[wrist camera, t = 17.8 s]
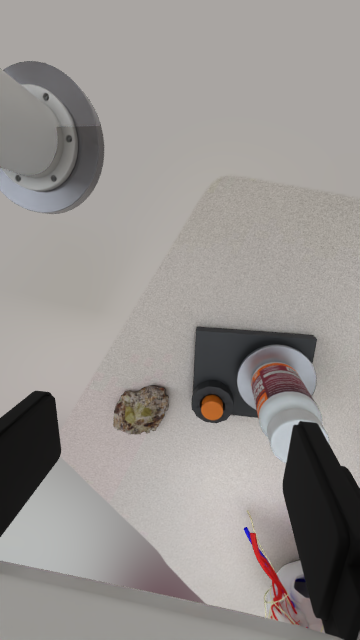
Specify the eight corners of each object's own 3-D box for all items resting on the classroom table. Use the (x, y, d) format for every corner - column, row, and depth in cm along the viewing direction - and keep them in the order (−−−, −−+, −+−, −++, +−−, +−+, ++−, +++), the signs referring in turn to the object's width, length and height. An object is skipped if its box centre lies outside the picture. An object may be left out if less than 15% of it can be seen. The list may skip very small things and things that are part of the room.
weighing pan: (233, 407, 37) (233, 410, 37) (240, 341, 35) (240, 343, 34) (308, 416, 36) (309, 418, 35) (321, 347, 33) (323, 349, 33)
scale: (192, 406, 42) (190, 420, 39) (197, 326, 38) (194, 334, 35) (297, 418, 40) (304, 434, 37) (312, 335, 36) (322, 344, 33)
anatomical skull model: (372, 595, 28) (452, 810, 28) (320, 478, 46) (369, 610, 47) (228, 607, 32) (299, 796, 32) (232, 494, 50) (278, 616, 50)
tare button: (201, 411, 39) (200, 419, 37) (202, 393, 38) (201, 400, 36) (222, 413, 38) (222, 421, 37) (223, 395, 37) (223, 402, 36)
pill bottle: (246, 364, 35) (258, 418, 24) (296, 356, 33) (332, 410, 23) (254, 404, 36) (269, 473, 25) (302, 399, 35) (339, 468, 24)
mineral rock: (137, 451, 43) (98, 427, 41) (139, 429, 47) (103, 406, 44) (185, 415, 41) (147, 387, 38) (182, 395, 45) (148, 369, 42)
